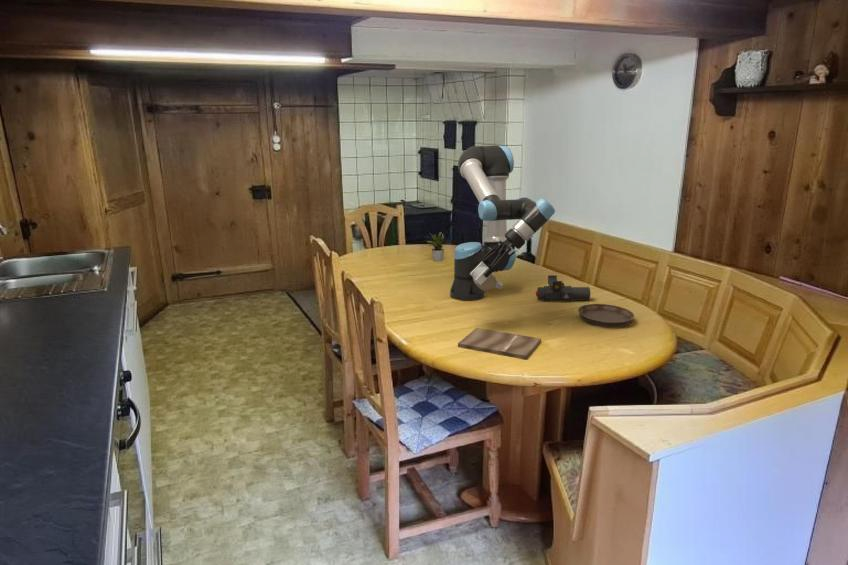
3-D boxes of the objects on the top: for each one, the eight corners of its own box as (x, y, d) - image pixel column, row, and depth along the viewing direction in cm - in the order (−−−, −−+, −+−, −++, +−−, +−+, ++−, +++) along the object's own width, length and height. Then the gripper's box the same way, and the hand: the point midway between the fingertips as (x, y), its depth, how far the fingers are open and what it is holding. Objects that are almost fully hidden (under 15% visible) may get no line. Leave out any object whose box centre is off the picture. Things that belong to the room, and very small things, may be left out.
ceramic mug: (477, 292, 200) (478, 271, 198) (472, 286, 208) (472, 266, 206) (505, 291, 201) (506, 270, 199) (499, 285, 209) (500, 265, 207)
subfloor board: (457, 346, 188) (457, 342, 187) (476, 330, 202) (476, 327, 202) (526, 359, 177) (526, 355, 177) (540, 341, 192) (540, 337, 191)
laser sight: (591, 303, 233) (593, 281, 230) (538, 304, 233) (539, 281, 230) (584, 297, 242) (586, 275, 240) (533, 297, 242) (534, 275, 240)
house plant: (426, 256, 318) (426, 228, 314) (450, 257, 316) (450, 229, 312) (423, 262, 305) (423, 233, 300) (448, 263, 303) (448, 233, 298)
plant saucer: (645, 326, 207) (646, 317, 206) (597, 332, 201) (597, 323, 200) (612, 309, 226) (612, 301, 225) (567, 314, 220) (568, 306, 219)
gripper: (535, 247, 192) (488, 293, 194) (517, 236, 212) (475, 278, 214) (520, 232, 190) (474, 280, 192) (504, 223, 210) (462, 266, 212)
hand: (475, 279), depth 203 cm, fingers closed on ceramic mug, 8 cm apart
